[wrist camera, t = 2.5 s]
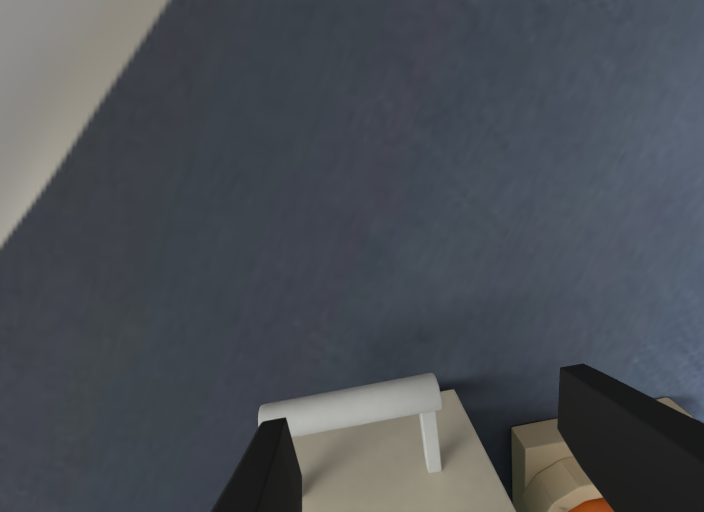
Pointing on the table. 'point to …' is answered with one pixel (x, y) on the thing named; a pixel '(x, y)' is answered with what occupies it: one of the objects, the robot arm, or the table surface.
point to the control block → (550, 469)
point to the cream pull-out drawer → (389, 450)
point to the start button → (593, 506)
